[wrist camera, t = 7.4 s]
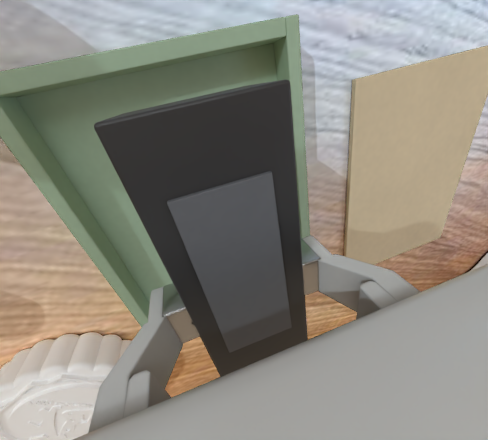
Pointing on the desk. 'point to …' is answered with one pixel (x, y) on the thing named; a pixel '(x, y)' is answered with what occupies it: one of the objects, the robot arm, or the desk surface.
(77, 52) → the desk surface
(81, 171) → the tray
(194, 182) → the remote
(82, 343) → the mooncake
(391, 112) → the mat
